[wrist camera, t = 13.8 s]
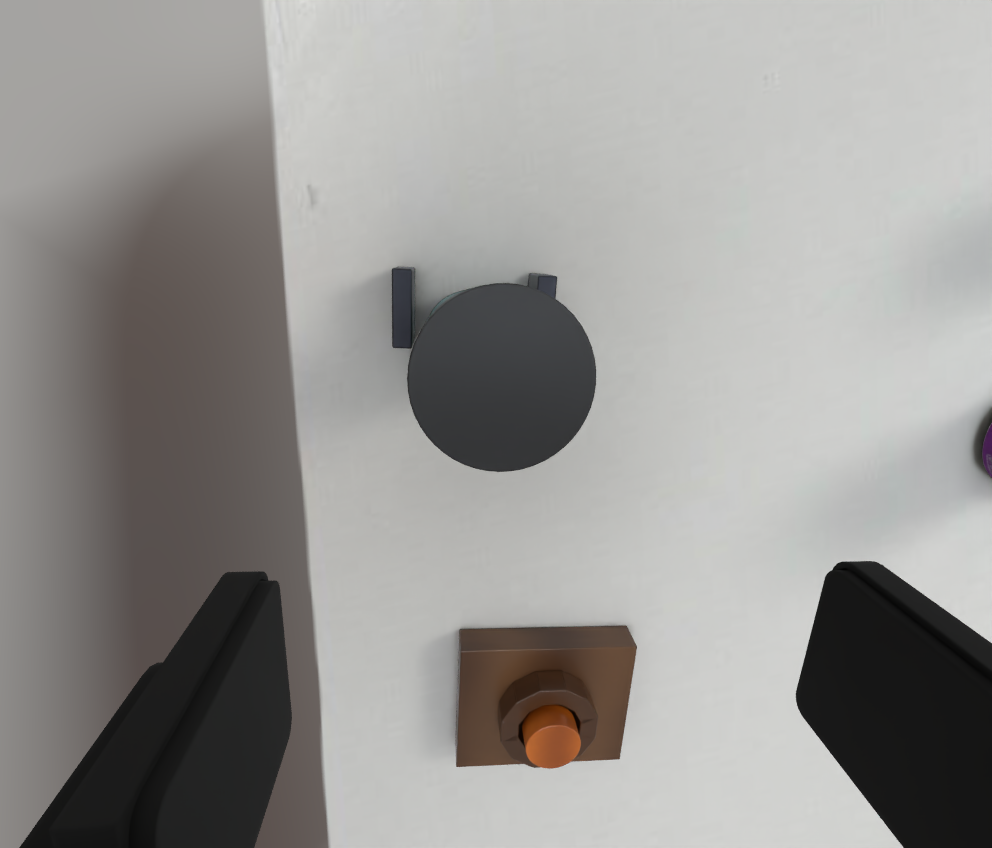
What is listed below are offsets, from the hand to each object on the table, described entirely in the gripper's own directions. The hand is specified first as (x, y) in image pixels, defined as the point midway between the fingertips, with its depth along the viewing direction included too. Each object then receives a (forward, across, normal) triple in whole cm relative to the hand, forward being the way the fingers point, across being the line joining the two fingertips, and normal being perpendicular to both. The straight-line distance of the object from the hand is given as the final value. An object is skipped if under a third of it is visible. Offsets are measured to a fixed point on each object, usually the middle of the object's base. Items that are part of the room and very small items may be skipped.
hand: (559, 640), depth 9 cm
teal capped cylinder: (+16, 0, -5) cm, 16 cm away
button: (+21, -5, +24) cm, 32 cm away
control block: (+24, -5, +24) cm, 34 cm away
